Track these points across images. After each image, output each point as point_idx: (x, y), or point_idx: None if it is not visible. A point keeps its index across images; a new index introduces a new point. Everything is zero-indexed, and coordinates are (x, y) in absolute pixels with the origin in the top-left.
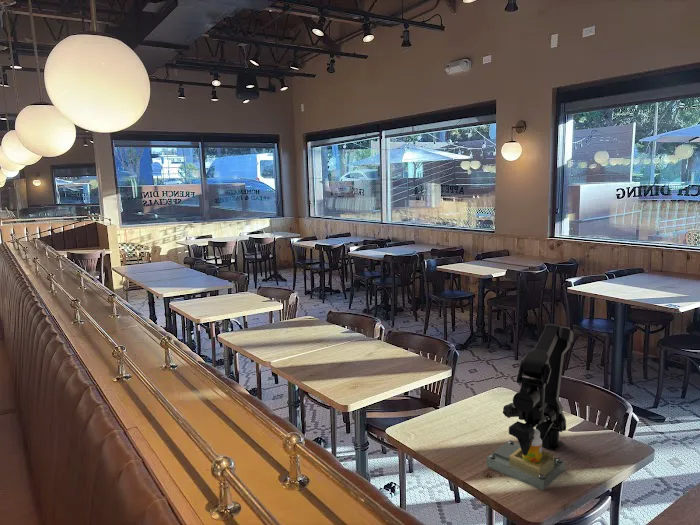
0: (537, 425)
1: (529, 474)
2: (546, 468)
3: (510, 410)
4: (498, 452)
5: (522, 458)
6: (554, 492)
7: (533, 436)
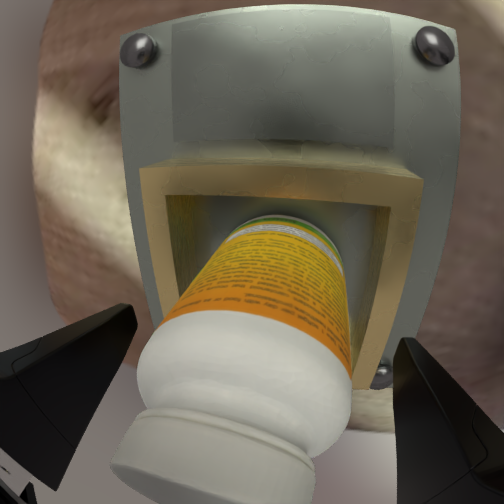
0: (456, 496)
1: (149, 303)
2: None
3: None
4: (194, 46)
5: (239, 226)
6: None
7: (51, 488)
